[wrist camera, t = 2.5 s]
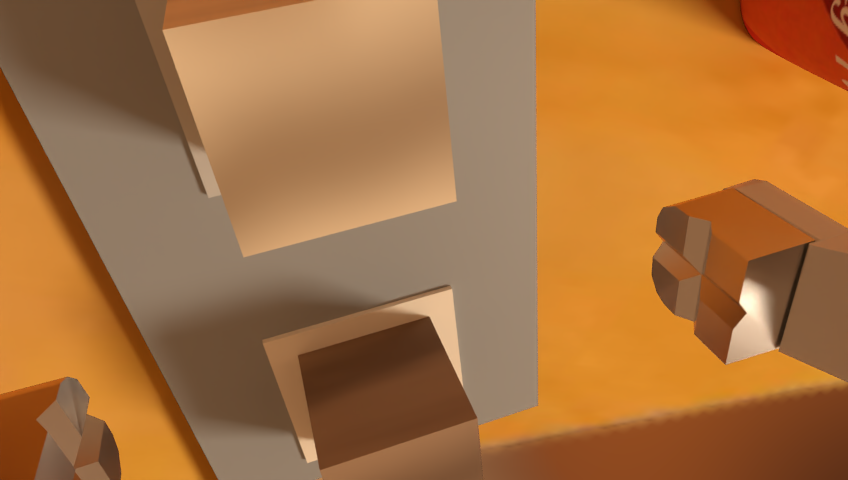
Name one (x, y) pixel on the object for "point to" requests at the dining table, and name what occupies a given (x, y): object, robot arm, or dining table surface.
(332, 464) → the walnut block
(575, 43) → the dining table surface
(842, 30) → the coffee cup
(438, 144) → the maple block
